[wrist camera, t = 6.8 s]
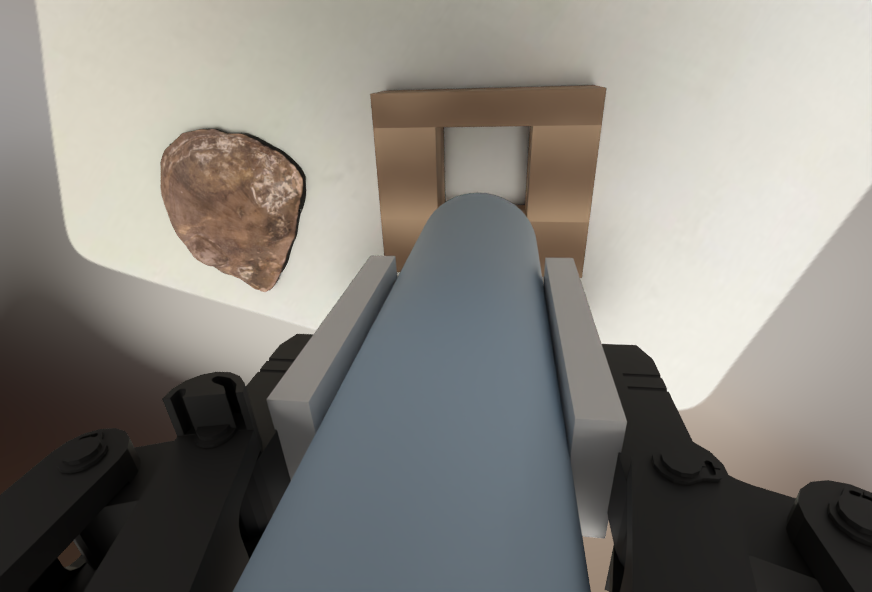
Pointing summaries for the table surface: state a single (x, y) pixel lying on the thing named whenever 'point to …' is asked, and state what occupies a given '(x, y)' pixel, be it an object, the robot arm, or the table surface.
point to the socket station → (489, 107)
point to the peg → (440, 434)
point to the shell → (233, 202)
